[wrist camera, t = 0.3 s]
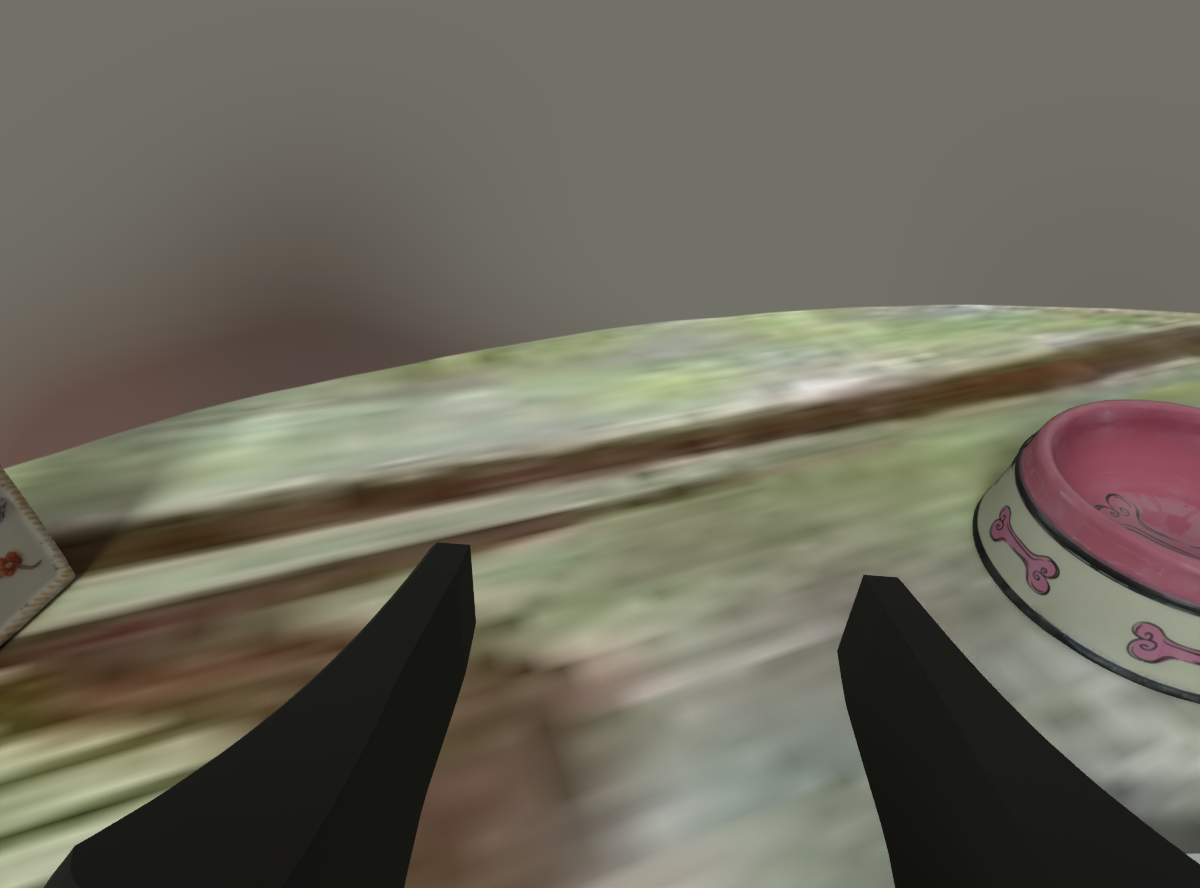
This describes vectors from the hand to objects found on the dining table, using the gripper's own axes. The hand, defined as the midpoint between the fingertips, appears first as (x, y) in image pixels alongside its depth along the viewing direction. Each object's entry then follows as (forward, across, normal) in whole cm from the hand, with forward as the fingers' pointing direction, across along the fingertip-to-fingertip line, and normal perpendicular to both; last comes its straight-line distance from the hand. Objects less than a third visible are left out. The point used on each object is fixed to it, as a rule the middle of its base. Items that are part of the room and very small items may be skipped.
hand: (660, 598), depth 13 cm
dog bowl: (+22, -30, +17) cm, 41 cm away
